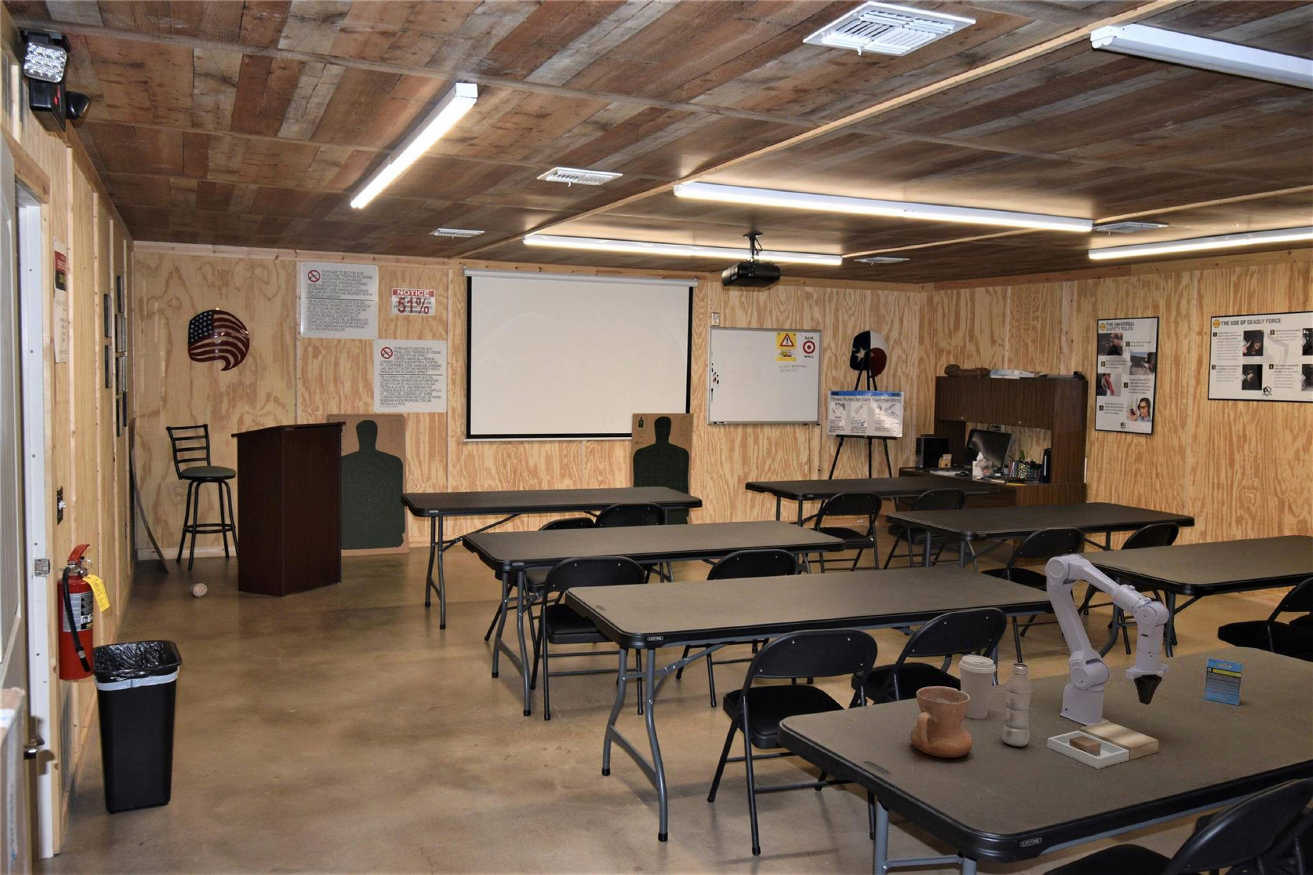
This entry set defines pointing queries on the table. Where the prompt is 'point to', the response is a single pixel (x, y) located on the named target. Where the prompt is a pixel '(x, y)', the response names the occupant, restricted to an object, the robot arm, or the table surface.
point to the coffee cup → (977, 683)
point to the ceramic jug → (942, 723)
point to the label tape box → (1223, 681)
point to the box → (1106, 758)
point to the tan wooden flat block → (1123, 738)
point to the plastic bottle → (1017, 706)
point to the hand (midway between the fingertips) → (1144, 702)
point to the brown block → (1086, 745)
